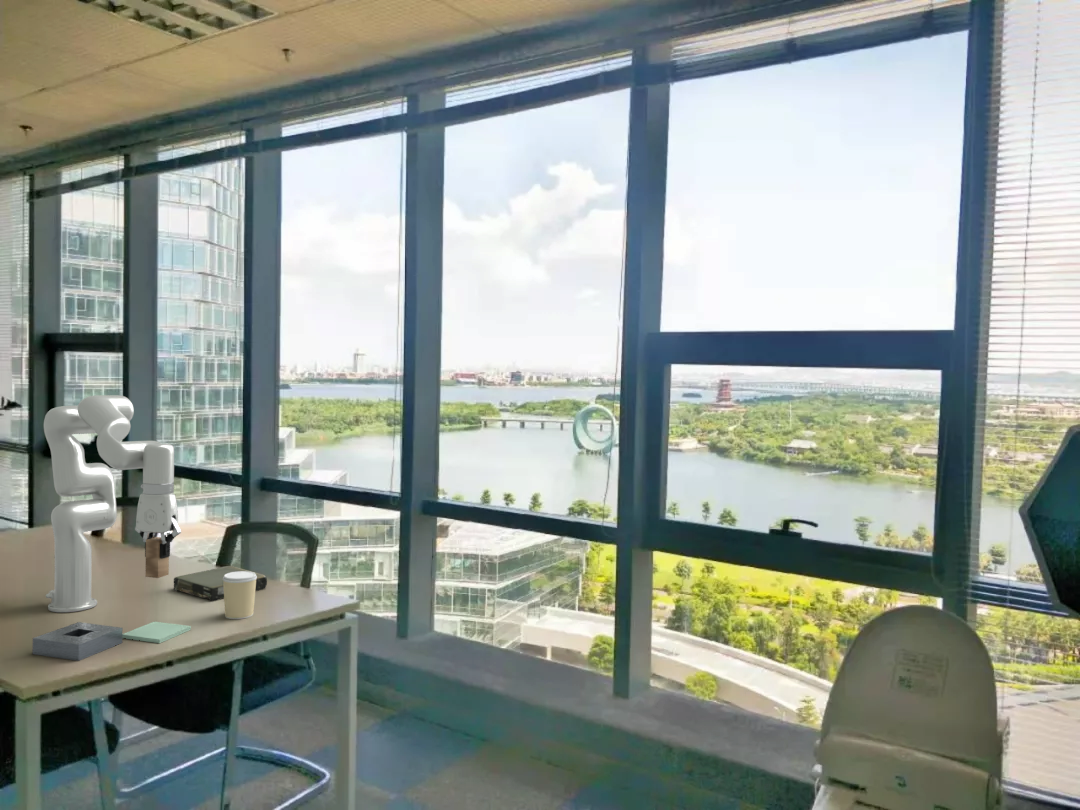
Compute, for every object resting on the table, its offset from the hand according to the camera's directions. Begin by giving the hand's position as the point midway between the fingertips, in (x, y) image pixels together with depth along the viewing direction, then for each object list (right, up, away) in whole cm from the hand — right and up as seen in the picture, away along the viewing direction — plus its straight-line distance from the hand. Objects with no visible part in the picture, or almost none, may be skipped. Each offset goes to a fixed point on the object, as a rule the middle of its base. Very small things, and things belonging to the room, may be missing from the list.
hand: (157, 556), depth 216 cm
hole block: (-14, -21, -12) cm, 28 cm away
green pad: (-1, -21, +1) cm, 21 cm away
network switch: (-1, -20, +47) cm, 51 cm away
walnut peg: (0, -5, 0) cm, 5 cm away
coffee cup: (+15, -21, +19) cm, 32 cm away
